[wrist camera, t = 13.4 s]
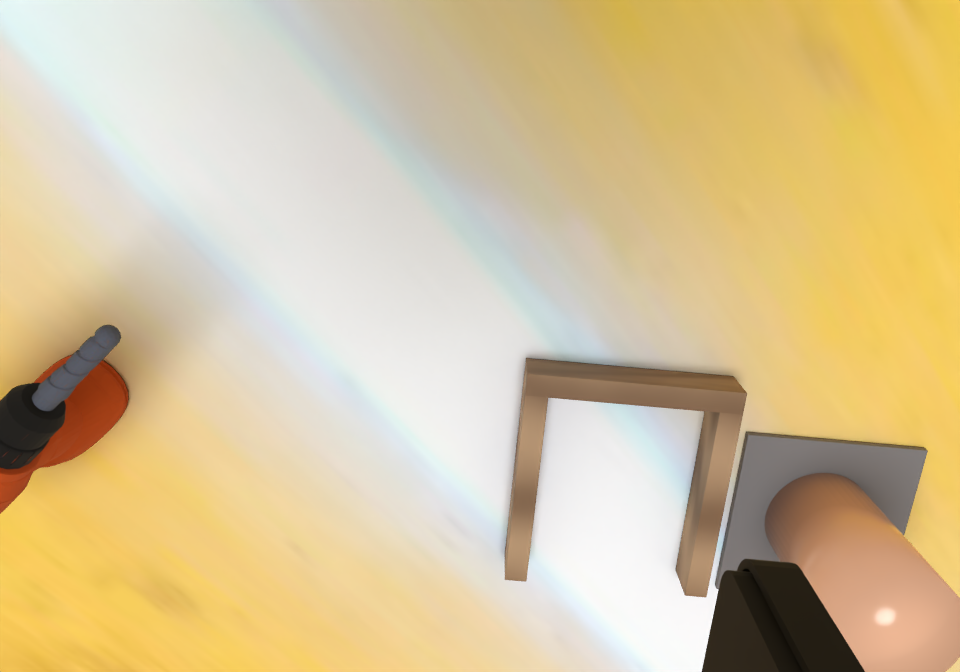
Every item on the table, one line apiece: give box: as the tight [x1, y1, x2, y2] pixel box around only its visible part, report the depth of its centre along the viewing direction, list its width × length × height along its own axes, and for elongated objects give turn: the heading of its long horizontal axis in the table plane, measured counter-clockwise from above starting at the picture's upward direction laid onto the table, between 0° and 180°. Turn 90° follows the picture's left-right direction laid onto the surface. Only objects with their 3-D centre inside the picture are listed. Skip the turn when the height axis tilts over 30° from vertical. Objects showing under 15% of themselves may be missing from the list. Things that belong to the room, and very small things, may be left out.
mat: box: [715, 432, 927, 589], centre depth 46 cm, size 10×10×1 cm
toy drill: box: [0, 325, 128, 513], centre depth 37 cm, size 5×18×14 cm, turn 131°
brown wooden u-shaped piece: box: [505, 358, 747, 597], centre depth 44 cm, size 12×11×2 cm
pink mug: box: [765, 473, 960, 672], centre depth 41 cm, size 8×6×10 cm
